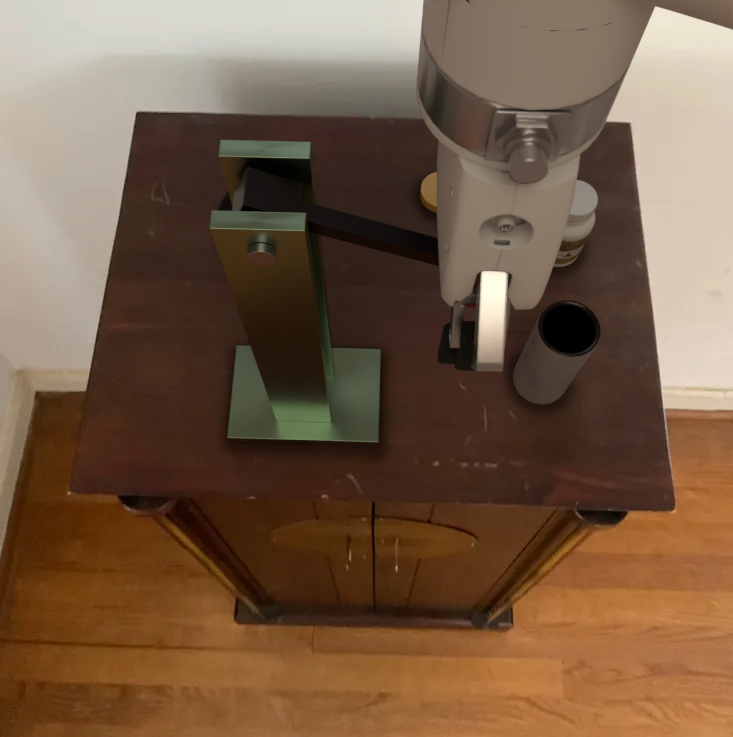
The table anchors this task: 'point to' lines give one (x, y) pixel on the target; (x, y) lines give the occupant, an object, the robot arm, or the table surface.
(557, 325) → the planter
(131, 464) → the table surface
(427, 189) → the brass blank
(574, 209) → the pill bottle
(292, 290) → the hand press
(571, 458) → the table surface
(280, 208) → the lever
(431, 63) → the robot arm
